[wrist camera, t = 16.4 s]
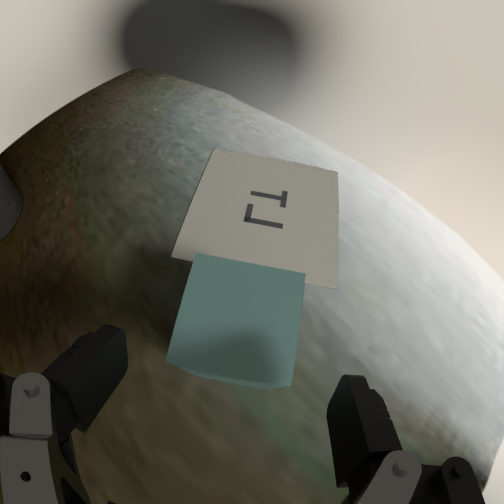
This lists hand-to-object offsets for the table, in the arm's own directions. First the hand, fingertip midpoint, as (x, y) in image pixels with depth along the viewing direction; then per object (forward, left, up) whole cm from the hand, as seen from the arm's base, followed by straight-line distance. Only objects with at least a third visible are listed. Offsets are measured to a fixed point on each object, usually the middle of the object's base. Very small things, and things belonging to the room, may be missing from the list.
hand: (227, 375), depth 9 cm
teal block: (0, +3, -13) cm, 13 cm away
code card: (0, +18, -13) cm, 23 cm away
